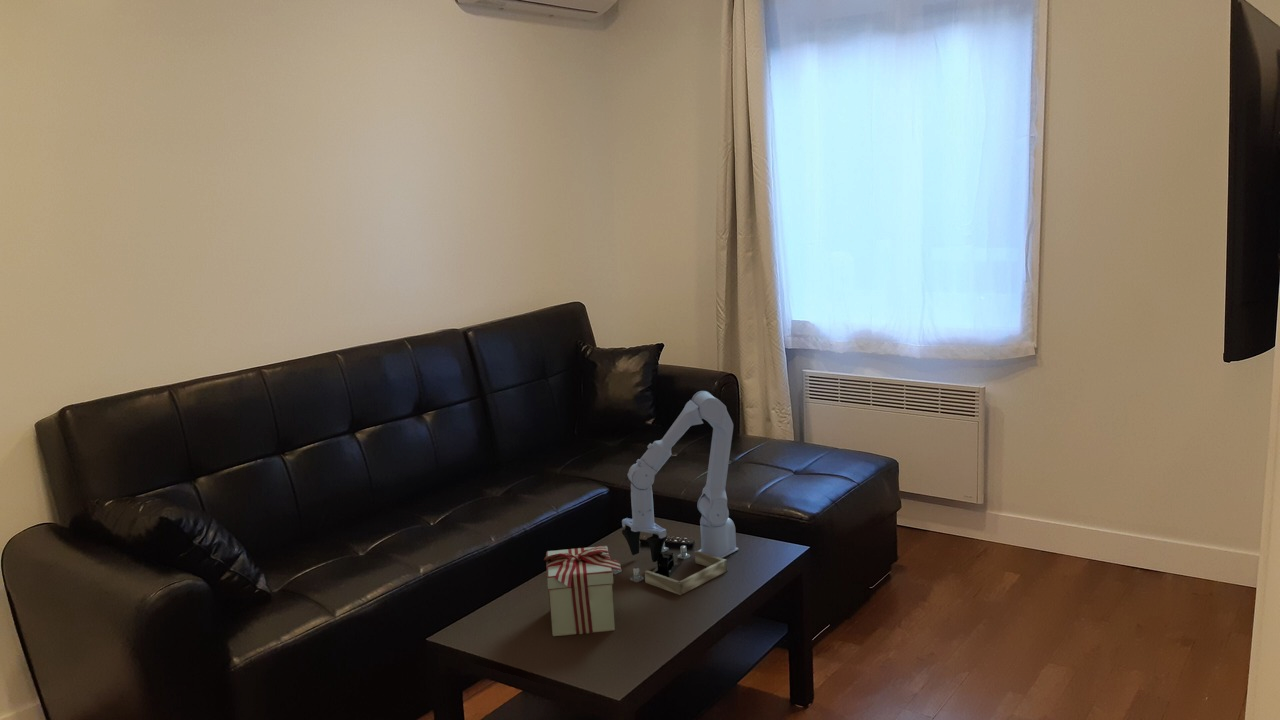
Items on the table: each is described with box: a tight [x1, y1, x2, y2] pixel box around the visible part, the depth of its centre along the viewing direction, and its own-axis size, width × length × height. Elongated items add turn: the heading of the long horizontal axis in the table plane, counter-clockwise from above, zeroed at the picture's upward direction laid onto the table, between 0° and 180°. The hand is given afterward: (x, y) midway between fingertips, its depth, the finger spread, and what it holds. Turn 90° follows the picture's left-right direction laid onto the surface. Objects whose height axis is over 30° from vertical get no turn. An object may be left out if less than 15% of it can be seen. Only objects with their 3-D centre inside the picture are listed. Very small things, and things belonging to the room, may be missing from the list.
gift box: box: [543, 545, 622, 637], centre depth 219 cm, size 17×18×17 cm
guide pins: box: [612, 541, 691, 583], centre depth 250 cm, size 20×10×3 cm, turn 135°
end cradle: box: [644, 550, 728, 596], centre depth 241 cm, size 18×12×3 cm, turn 135°
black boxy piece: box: [652, 551, 683, 578], centre depth 247 cm, size 12×7×5 cm, turn 156°
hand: (645, 557), depth 252 cm, fingers open, 7 cm apart
